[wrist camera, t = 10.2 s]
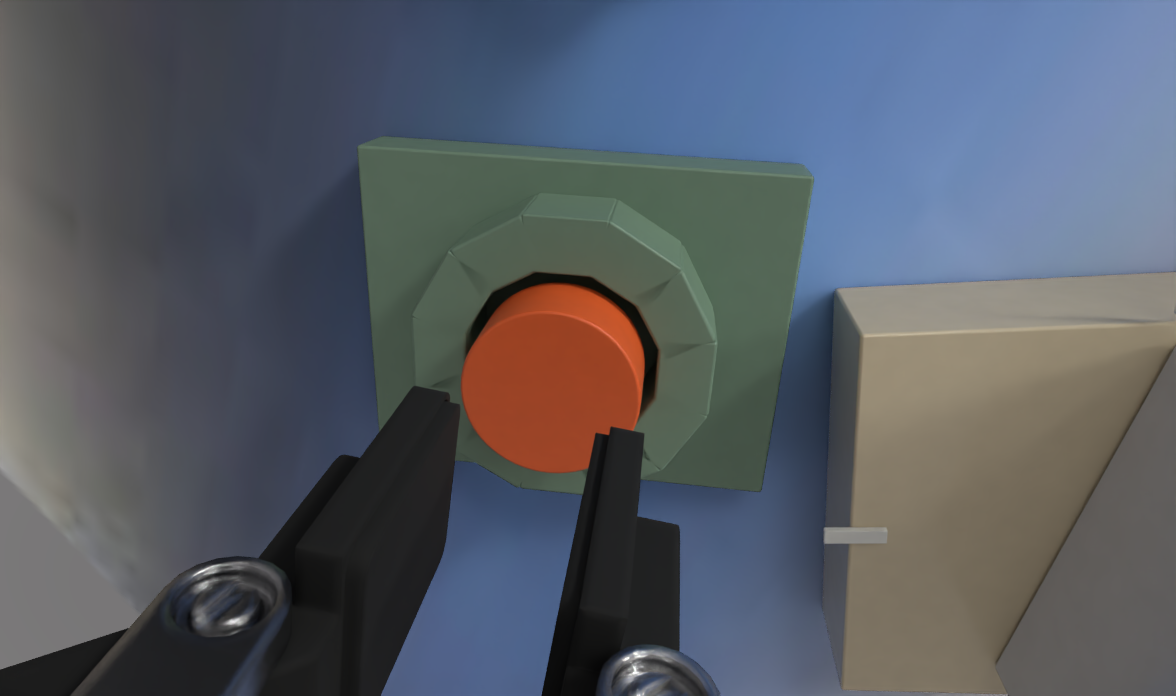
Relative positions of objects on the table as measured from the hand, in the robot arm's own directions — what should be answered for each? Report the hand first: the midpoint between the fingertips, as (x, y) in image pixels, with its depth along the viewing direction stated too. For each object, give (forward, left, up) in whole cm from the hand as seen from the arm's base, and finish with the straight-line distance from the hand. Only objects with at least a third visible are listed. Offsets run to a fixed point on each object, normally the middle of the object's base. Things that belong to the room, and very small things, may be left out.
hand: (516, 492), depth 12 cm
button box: (0, 0, -8) cm, 8 cm away
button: (0, 0, -5) cm, 5 cm away
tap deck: (-13, +3, -8) cm, 15 cm away
